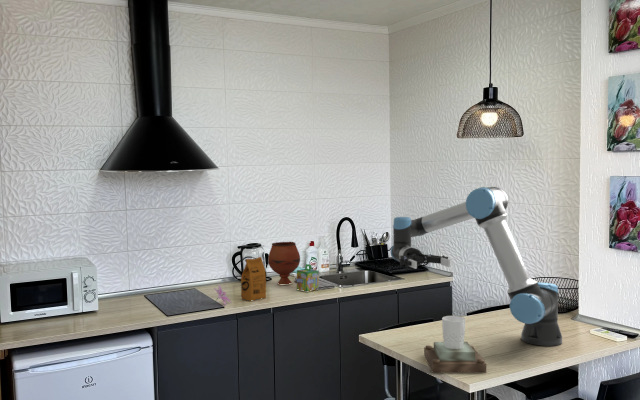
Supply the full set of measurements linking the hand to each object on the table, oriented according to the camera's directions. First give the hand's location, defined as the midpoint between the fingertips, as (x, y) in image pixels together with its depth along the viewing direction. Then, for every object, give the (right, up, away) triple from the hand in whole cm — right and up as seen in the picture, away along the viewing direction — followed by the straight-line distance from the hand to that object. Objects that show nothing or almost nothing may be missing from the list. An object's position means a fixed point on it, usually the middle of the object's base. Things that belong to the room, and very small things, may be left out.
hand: (432, 264), depth 220 cm
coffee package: (-78, -29, +90) cm, 123 cm away
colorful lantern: (-50, -27, +110) cm, 124 cm away
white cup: (+4, -27, -18) cm, 32 cm away
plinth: (+4, -33, -17) cm, 37 cm away
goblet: (-64, -26, +129) cm, 146 cm away
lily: (-93, -29, +78) cm, 125 cm away
